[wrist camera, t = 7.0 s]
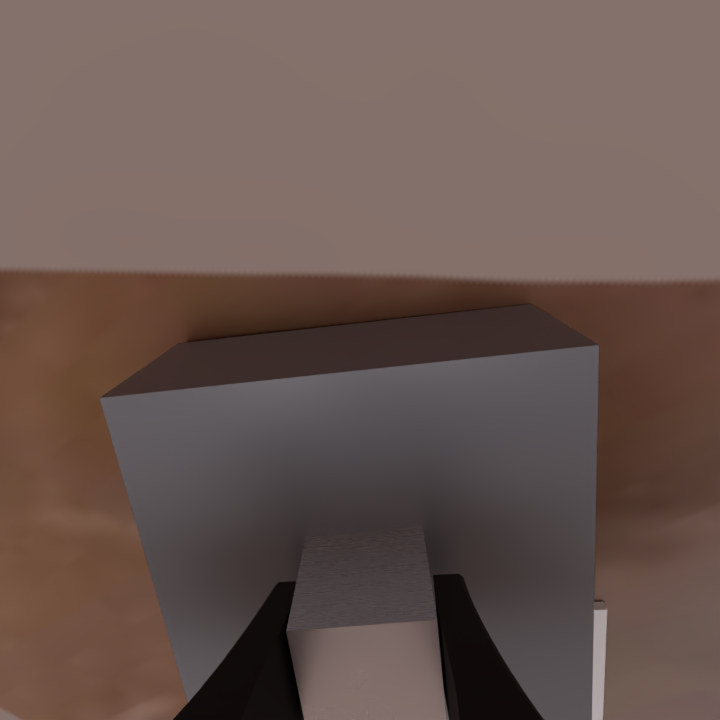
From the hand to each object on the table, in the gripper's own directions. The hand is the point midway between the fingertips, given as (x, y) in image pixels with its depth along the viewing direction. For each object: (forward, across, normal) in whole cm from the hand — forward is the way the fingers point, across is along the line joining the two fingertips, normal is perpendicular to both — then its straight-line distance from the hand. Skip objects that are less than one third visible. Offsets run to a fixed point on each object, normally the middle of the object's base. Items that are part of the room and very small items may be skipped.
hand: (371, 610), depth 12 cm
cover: (+6, 0, 0) cm, 6 cm away
